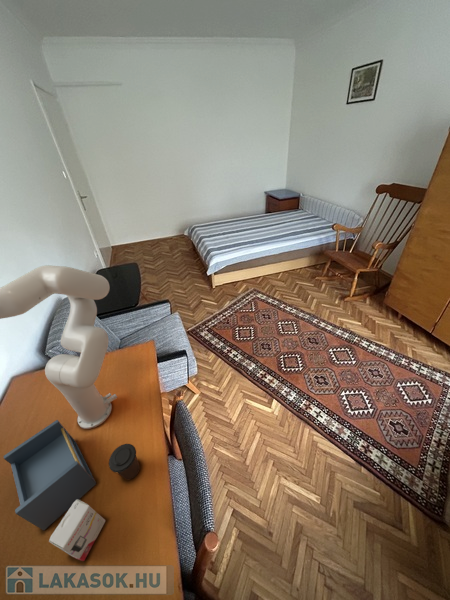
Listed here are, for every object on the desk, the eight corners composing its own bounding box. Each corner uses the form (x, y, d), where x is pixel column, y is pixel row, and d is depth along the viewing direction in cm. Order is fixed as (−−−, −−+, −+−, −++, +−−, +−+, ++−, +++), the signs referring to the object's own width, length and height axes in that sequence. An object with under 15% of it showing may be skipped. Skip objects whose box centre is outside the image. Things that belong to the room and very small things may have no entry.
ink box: (83, 562, 62) (62, 551, 55) (69, 554, 63) (46, 542, 57) (107, 519, 68) (90, 505, 62) (93, 513, 70) (75, 498, 63)
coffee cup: (119, 490, 74) (107, 476, 69) (117, 463, 81) (107, 449, 75) (145, 477, 77) (136, 462, 71) (142, 452, 83) (133, 437, 77)
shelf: (75, 440, 88) (57, 419, 81) (96, 483, 76) (77, 463, 69) (28, 475, 80) (3, 455, 72) (43, 530, 68) (15, 513, 60)
